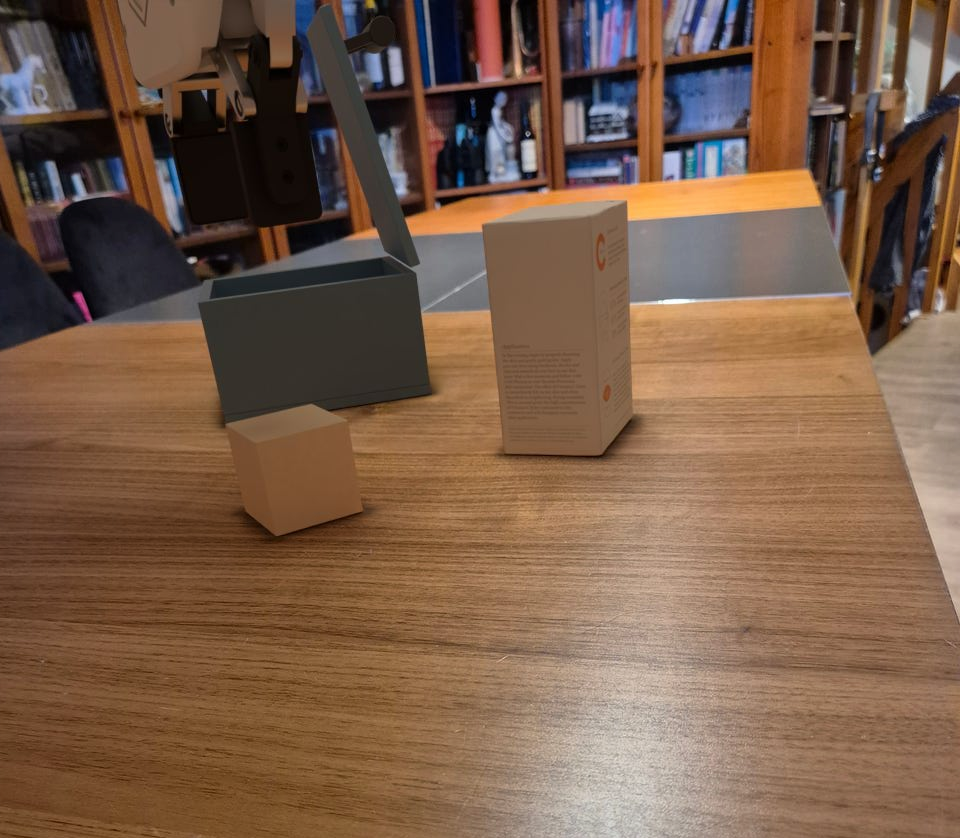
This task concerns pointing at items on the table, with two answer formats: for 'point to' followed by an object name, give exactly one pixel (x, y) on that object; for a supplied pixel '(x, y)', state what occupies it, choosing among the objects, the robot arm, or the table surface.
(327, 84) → the cool box lid
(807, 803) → the table surface
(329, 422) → the block
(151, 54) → the robot arm
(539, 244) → the small box
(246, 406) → the cool box
